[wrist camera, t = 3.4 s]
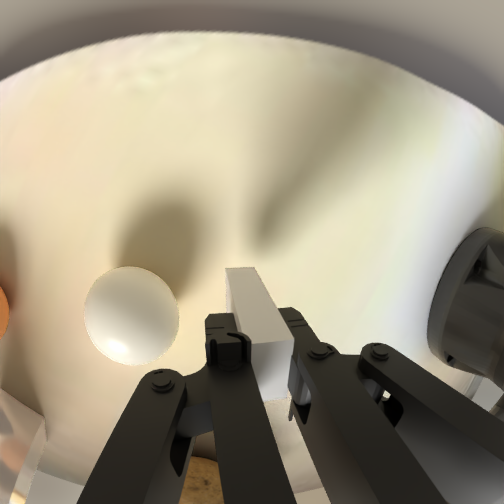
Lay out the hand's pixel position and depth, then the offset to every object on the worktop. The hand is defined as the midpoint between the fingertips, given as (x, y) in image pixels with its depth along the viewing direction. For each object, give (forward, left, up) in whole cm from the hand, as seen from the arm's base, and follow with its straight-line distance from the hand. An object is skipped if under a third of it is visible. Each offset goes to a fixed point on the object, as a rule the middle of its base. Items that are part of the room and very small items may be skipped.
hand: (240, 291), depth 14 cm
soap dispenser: (+27, +18, -3) cm, 33 cm away
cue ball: (+6, +1, 0) cm, 6 cm away
